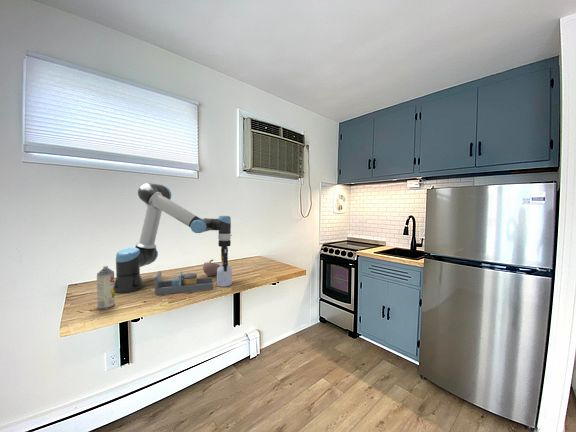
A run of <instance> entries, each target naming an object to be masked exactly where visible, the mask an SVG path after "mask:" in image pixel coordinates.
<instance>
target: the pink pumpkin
mask: <svg viewBox="0 0 576 432" xmlns="http://www.w3.org/2000/svg"><path fill="white" fill-rule="evenodd" d="M213 261H214V259H211V260H209V261H207V262H204V263H203V265H202V270H203V273H204V274H205V275H207V276H209V277H213V276H217V269H218V268H219V267H220V266H221V265H220V264H219V263H216V262H213Z"/></svg>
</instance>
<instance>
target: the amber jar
mask: <svg viewBox="0 0 576 432" xmlns="http://www.w3.org/2000/svg"><path fill="white" fill-rule="evenodd" d="M197 278H198V273H195V272H194V273H193V272H190V273H189V272H188V273H185V274H184V273H183V274H182V280H183V286H186V285H197Z"/></svg>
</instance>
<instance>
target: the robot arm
mask: <svg viewBox="0 0 576 432" xmlns="http://www.w3.org/2000/svg"><path fill="white" fill-rule="evenodd" d="M137 195H138V198H139V199H140V201H142V202H143V203H145V205H146V211H145V215H144V220H143V225H142V229H141V232H140V233H141V234H140V237H139V242H136V244H135V247H128V248H124V249H121V250H119V251H117V252H116V255H115V271H116V272H115V274H116V276H115V279H114V291H115V293H117V294H119V293H120V294H121V293H123V294H124V293H131V292H136V291H137V290H141V289H142V288H144V281H143V279H142V276H141V267H145V266H147V265H150V264H152V263H154V262H156V260H157V258H158V255H159V252H158V250H157V245H156V244H155V242H156V237H157V234H158V228H159V225H160V220H161V216H162V212H164V213H165V214H167V215H169V216H170V217H172V218H173V219H175V220H177V221H179V222H180V223H182V224H184V225H186V226H187V227H189V228H190V230H191V232H192V233H195V234H202V233H205V232H209V231H217V232H218V237H217V238H218V242H217V243H218V247H220V252H221V253H220V255H221V254H222V256H223V260H222V259H221V265H222V261H223V265H222V266H223V277H224V276H228V266H229V260H228V259H229V256H228V254H229V253H228V252H229V250H228V249H229V248H228V249H227V247H231V237H232V234H231V233H232V232H231V228H232V222H231V221H232V220H231V216H230V215H219V216H218V218H207V217H206V218H201V217H198V216H197V215H196V214H194V213H192V212H191V211H189V210H187V209H186V208H184V207H182V206H180V205H178V204H177V203H176V202H174V201H172V200H171V198H172V192H171V189H170V188H169V187H168V186H166V185H163V184H156V183H143V184H142V185H140V186H139V188H138V190H137ZM221 247H223V248H222V249H221ZM225 263H226V264H225ZM221 265H220V266H221Z"/></svg>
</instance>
